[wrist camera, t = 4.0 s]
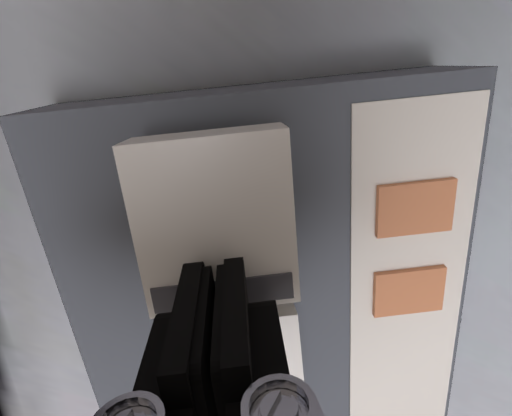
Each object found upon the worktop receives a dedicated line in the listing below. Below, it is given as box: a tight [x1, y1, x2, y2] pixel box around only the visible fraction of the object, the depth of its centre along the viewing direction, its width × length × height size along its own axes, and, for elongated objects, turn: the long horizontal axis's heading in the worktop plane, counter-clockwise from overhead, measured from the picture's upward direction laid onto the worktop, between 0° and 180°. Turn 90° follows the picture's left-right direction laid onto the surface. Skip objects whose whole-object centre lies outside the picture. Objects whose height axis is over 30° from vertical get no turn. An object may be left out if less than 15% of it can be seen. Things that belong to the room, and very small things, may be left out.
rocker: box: [112, 122, 301, 319], centre depth 11 cm, size 4×5×2 cm
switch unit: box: [0, 66, 498, 416], centre depth 17 cm, size 16×19×5 cm
